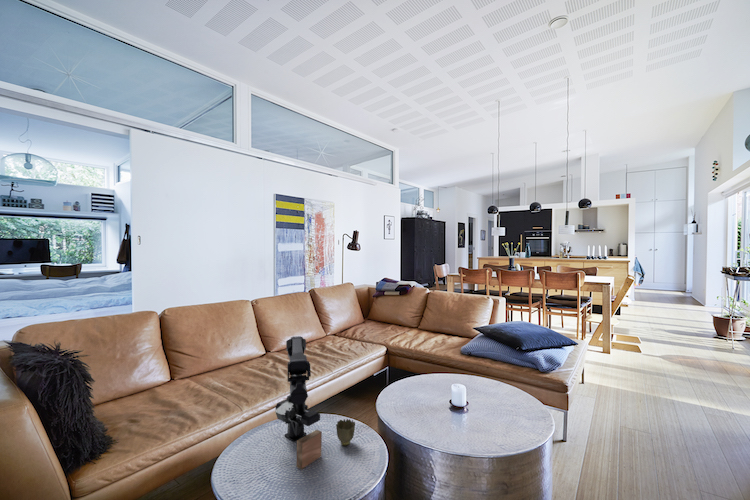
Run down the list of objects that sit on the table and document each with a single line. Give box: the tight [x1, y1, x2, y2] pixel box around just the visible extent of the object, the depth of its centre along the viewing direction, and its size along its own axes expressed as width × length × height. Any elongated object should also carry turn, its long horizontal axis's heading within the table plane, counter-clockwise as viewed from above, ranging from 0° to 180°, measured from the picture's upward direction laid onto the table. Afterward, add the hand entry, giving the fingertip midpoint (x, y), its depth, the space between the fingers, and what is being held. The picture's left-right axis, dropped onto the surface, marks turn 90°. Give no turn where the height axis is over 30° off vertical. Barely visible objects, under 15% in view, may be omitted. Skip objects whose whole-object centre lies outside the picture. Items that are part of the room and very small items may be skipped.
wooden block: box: [295, 429, 323, 471], centre depth 117 cm, size 3×10×9 cm, turn 144°
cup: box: [335, 418, 356, 447], centre depth 128 cm, size 8×7×8 cm
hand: (296, 435), depth 121 cm, fingers closed
